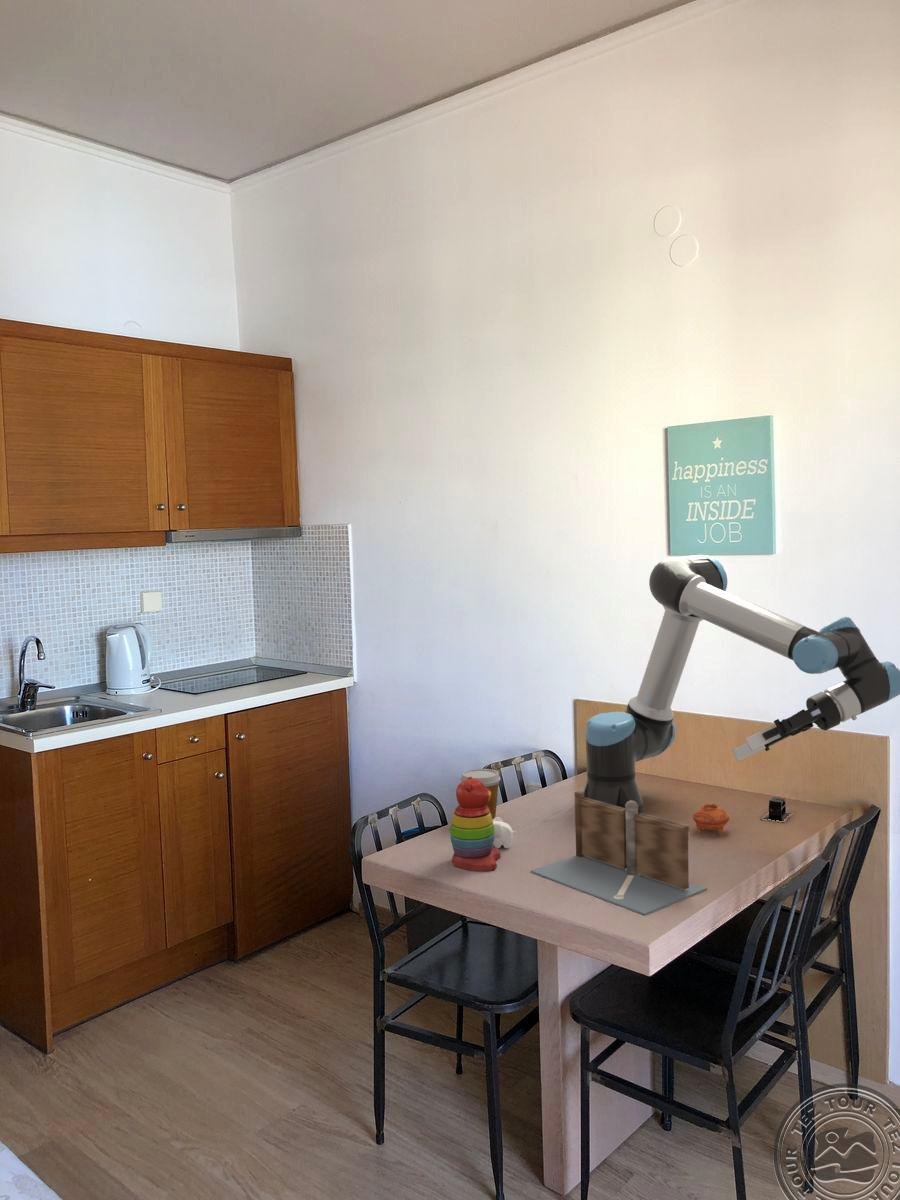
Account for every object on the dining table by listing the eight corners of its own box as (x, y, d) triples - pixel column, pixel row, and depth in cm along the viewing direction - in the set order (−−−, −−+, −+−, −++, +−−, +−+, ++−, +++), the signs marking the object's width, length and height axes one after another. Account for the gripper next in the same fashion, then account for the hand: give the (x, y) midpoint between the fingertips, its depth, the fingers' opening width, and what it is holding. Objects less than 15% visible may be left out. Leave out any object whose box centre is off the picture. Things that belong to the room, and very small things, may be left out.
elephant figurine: (482, 841, 221) (481, 815, 220) (517, 841, 220) (517, 815, 220) (481, 852, 214) (480, 825, 213) (518, 851, 213) (517, 824, 213)
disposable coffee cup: (470, 815, 240) (468, 767, 239) (507, 818, 237) (505, 769, 236) (455, 827, 232) (454, 777, 231) (493, 830, 228) (492, 779, 227)
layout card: (530, 871, 201) (530, 870, 201) (591, 851, 212) (591, 849, 212) (644, 915, 177) (644, 913, 177) (706, 889, 188) (706, 887, 188)
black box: (785, 827, 225) (785, 808, 225) (753, 823, 229) (753, 804, 229) (799, 813, 236) (799, 794, 235) (768, 809, 240) (768, 790, 239)
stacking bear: (495, 872, 201) (493, 786, 200) (446, 870, 203) (444, 786, 202) (501, 854, 212) (499, 773, 211) (455, 852, 214) (453, 772, 212)
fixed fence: (572, 856, 209) (571, 787, 208) (581, 853, 210) (580, 784, 209) (633, 877, 196) (632, 803, 195) (642, 874, 197) (640, 800, 196)
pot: (738, 830, 222) (734, 803, 220) (715, 845, 218) (710, 818, 216) (711, 821, 228) (707, 794, 227) (688, 835, 225) (683, 808, 223)
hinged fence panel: (635, 873, 196) (634, 814, 195) (641, 871, 197) (640, 812, 196) (683, 889, 187) (682, 828, 186) (689, 887, 188) (689, 825, 187)
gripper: (860, 711, 193) (764, 757, 192) (824, 733, 216) (738, 775, 215) (839, 677, 195) (744, 722, 194) (806, 703, 219) (721, 744, 218)
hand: (741, 750), depth 205 cm, fingers open, 13 cm apart
